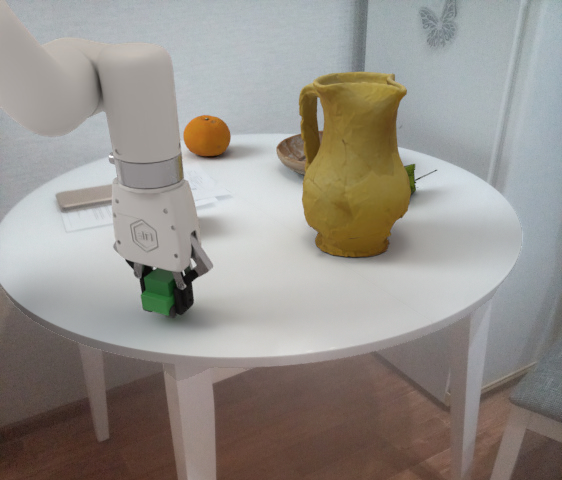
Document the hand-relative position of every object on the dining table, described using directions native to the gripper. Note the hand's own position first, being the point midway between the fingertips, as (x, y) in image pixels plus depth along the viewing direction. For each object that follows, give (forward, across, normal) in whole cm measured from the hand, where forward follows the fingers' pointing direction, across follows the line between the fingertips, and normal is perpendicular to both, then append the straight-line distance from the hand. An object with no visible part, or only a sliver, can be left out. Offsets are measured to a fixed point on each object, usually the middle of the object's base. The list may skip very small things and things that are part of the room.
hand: (168, 304), depth 75 cm
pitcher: (+2, +15, +33) cm, 36 cm away
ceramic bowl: (+2, 0, +63) cm, 63 cm away
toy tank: (+1, +20, +55) cm, 58 cm away
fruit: (+2, -30, +62) cm, 69 cm away
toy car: (0, 0, 0) cm, 0 cm away
